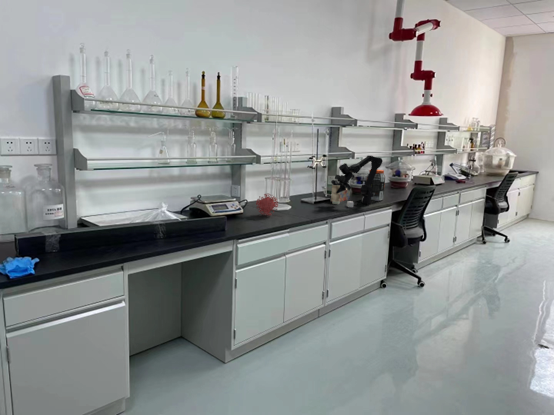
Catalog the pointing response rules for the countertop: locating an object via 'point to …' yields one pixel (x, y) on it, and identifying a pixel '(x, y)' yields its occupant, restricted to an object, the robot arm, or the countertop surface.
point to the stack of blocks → (344, 195)
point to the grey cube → (350, 204)
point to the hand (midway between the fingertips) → (334, 192)
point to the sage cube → (336, 202)
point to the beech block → (335, 196)
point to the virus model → (267, 204)
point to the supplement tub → (378, 185)
